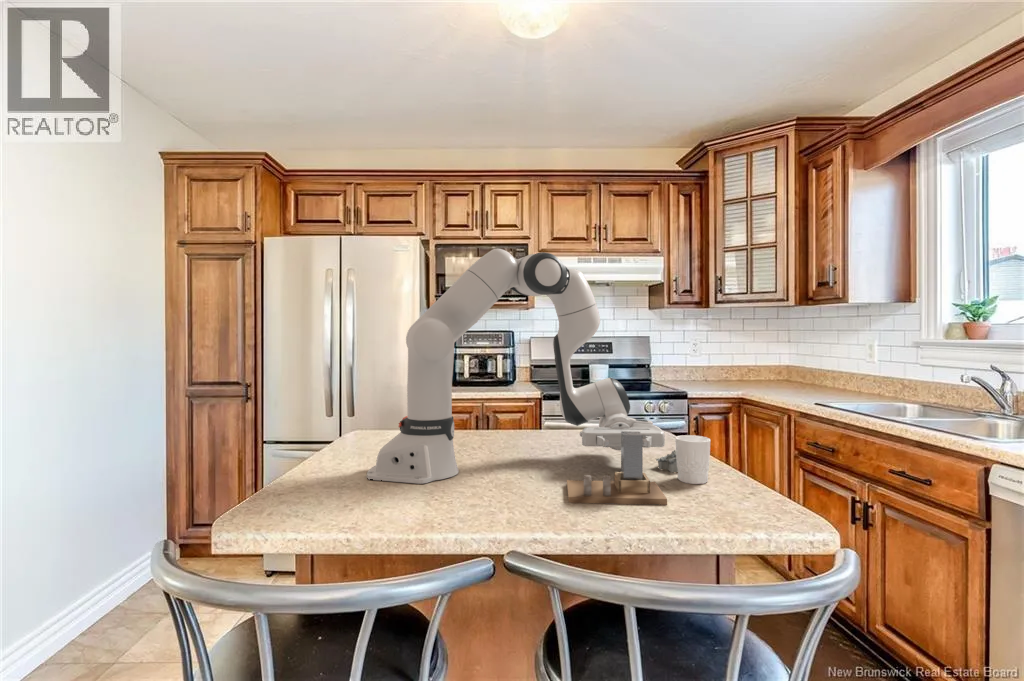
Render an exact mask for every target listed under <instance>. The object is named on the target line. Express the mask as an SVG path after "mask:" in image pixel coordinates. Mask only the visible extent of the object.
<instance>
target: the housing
mask: <svg viewBox="0 0 1024 681" xmlns="http://www.w3.org/2000/svg"><path fill="white" fill-rule="evenodd" d="M613 473H614V480H612V477H611V475H607V474H605V475H602V480H592V475H590V474H584V475H583V480H580V479H579V480H575V479H574V480H573V479H572V480H571V479H567V480H566V490H567V498H568V504H570V503H571V504H576V503H577V504H605V503H614V505H615V504H616V503H617V504H619V505H653V504H659V505H660V504H661V505H662V506H665V505H666V506H667V505H668V498H667V497H666V496H665V493H663V491H662V489H661V488H660V487H659V485H658V484H657V483H656V481H651V480H650V478H649V477H648V475H647V474H646V473H645V472H643V480H621V471H620V472H619V471H614V472H613ZM617 504H616V505H617ZM661 505H660V506H661Z"/></svg>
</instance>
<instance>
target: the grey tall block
mask: <svg viewBox="0 0 1024 681" xmlns="http://www.w3.org/2000/svg"><path fill="white" fill-rule="evenodd" d="M643 449H644V448H643V435H642V434H641V433H640V432H630V431H621V450H620V467H621V468H620V472H621V480H643V473H644V472H643V471H644V470H643V468H644V467H643V465H644V464H643V458H644V457H643V456H644V455H643Z"/></svg>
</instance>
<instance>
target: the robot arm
mask: <svg viewBox="0 0 1024 681" xmlns="http://www.w3.org/2000/svg"><path fill="white" fill-rule="evenodd" d="M508 290H512V291H514V292H515V293H517V294H519V295H522V296H526V297H541V296H547V297H548V298H549V299H550V301H551V302H552V304H553V306H554V310H555V313H556V315H557V319H558V329H557V330H558V331H557V333H556V335H555V336H553V343H552V346H553V352H554V354H553V355H554V362H555V363H554V364H555V370H556V376H557V384H558V387H559V388H558V389H559V408H560V412H561V416H562V417H563V419H564V420H565V422H566V423H568V424H571V425H573V426H576V427H578V426H580V425H584V424H586V423H588V422H589V421H592V420H596V419H598V427H597V426H595V427H590V426H588V427H584V428H583V429H582V431H580V432H579V437H581V445H582V446H584V447H602V448H610V449H612V450H615V451H621V431H630V432H640V433H641V434H642V435H643V449H644V448H648V449H650V448H663V447H665V445H666V444H665V443H666V442H665V441H666V438H665V436H666V435H665V432H664V431H663V429H661V428H660V427H659V426H657V425H654V422H653V421H651V420H647V419H640V418H639V419H638V418H633V417H630V416H629V414H630V411H631V404H630V400H629V396H628V395H627V392H626V390H625V388H624V386H623V385H622V383H621V382H620V381H618V380H617V379H615V378H613V377H608V378H607V377H606V378H603V379H600V380H597V381H595V382H592V383H588V384H586V385H582V386H579V387H574V384H573V383H574V382H573V378H572V371H571V358H572V356H573V355H574V353H575V352H576V351H578V349H579V348H581V347H582V346H583V345H584V344H586V343H587V342H588V341H590V340H591V339H592V338H593V337H594V335H596V333H597V332H598V329H599V327H600V323H601V318H600V312H599V308H598V305H597V302H596V298H595V296H594V293H593V291H592V288H591V286H590V284H589V281H588V280H587V278H586V277H585V274H584V273H583V272H582V271H581V270H579V269H575V268H568V267H567V266H566V265H565V264H564V263H563V262H562V261H561V259H559V258H558V257H557V256H556V255H554V254H552V253H550V252H543V251H540V252H537V253H532V254H528V255H526V256H523V257H520V258H516V257H514V256H513V255H512V254H511V253H510V252H509V251H507V250H505V249H503V248H493V249H491V250H490V251H488V252H486V253H485V254H484V255H483V256H481V257H480V258H478V259H477V260H476V261H475V262H474V263H473V264H472V265H470V266H469V267H468V269H466V271H464V272H463V274H461V275H460V276H459V278H457V280H455V282H454V283H453V284H452V285H451V286H450V287H449V288H448V289H446V291H445V292H444V293H443V294H442V295H441V296H440V297H439V298H438V299H437V300H436V301H435V302H434V303H432V305H431V306H429V308H427V310H426V311H425V312H423V313H422V315H421V316H420V317H419V318H418V319H417V320H416V321H415V322H413V324H412V325H411V326H410V327H409V328H408V330H407V333H406V335H405V336H406V337H405V341H406V342H405V343H406V347H407V382H406V383H407V385H406V388H407V389H406V392H407V395H406V397H407V399H406V400H407V403H406V404H407V408H406V409H407V414H406V416H404V417H402V420H400V421H399V423H398V428H399V431H400V432H399V433H398V434H397V435H396V436H394V437H393V438H392V439H390V440H389V441H388V442H387V443H385V444H384V445H383V446H382V447H381V449H379V451H378V454H377V458H376V464H375V465H373V466H371V468H369V469H368V471H366V472H367V473H366V479H367V478H368V480H370V479H373V481H381V480H382V481H383V482H394V483H396V482H397V483H407V484H419V485H420V484H421V485H422V484H423V485H424V484H427V483H428V484H429V483H431V482H434V481H439V480H445V479H449V478H452V477H454V476H456V475H458V474H459V472H460V471H459V467H458V464H457V458H456V455H455V448H454V436H455V420H454V416H453V413H452V412H453V409H452V408H453V404H452V403H453V402H452V401H453V392H452V391H453V389H452V388H453V385H452V384H453V376H454V363H455V362H454V361H455V360H454V359H455V358H454V357H455V343H456V342H457V341H458V340H459V339H460V338H461V337H462V336H463V335H464V334H465V333H467V332H468V331H469V330H470V329H471V328H472V327H473V326H475V325H476V324H477V323H478V321H479V320H481V318H482V317H484V316H485V314H486V313H487V312H488V311H489V310H490V309H491V308H492V307H493V306H494V305H495V304H496V303H497V302H498V301H499V300H500V298H502V296H503V295H504V294H505V293H506V292H507V291H508Z"/></svg>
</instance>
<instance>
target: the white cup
mask: <svg viewBox="0 0 1024 681" xmlns="http://www.w3.org/2000/svg"><path fill="white" fill-rule="evenodd" d="M674 441H675V450H676V460H677V468H678V470H677V472H678V473H677V480H679V481H680V482H683V483H685V484H691V485H702V484H706V482H707V483H708V480H709V470H710V460H711V459H710V458H711V457H710V455H711V438H709V437H707V436H702V435H694V434H692V435H691V434H685V435H677V436H675V439H674Z"/></svg>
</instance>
